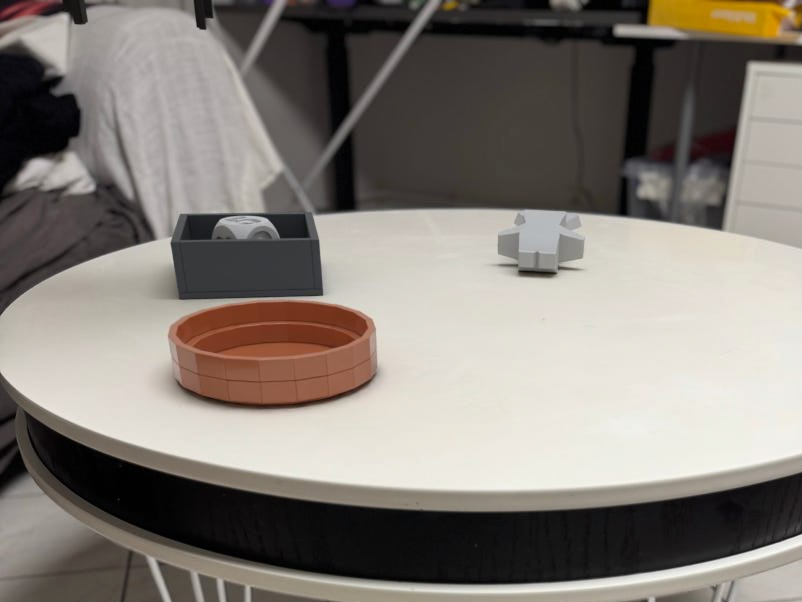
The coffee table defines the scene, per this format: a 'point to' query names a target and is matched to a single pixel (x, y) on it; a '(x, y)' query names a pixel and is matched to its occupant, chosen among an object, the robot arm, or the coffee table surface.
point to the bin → (247, 258)
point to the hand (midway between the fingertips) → (142, 26)
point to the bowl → (273, 351)
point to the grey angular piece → (542, 240)
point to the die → (244, 228)
